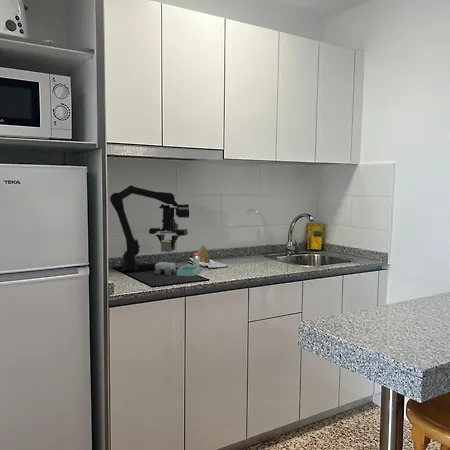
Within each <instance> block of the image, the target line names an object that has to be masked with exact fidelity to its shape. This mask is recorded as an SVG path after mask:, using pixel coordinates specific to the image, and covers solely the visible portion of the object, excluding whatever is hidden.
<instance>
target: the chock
mask: <svg viewBox="0 0 450 450" xmlns="http://www.w3.org/2000/svg"><path fill="white" fill-rule="evenodd" d="M174 251H176V245H175V246H174V248H173V249H172V239H164V240H161V243H160V252H163V253H164V252H165V253H172V252H174Z"/></svg>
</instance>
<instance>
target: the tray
mask: <svg viewBox="0 0 450 450" xmlns="http://www.w3.org/2000/svg"><path fill="white" fill-rule="evenodd" d="M200 269H201V267H200V266H199V267H193V266H190V265H189V266H188V265H183V266H182V267H180V268H178V269H177V268H176V277H177V276H179V277H190V276H194V275H195V276H197V275H199V274H200V273H201V271H200ZM195 276H194V277H195Z"/></svg>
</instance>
